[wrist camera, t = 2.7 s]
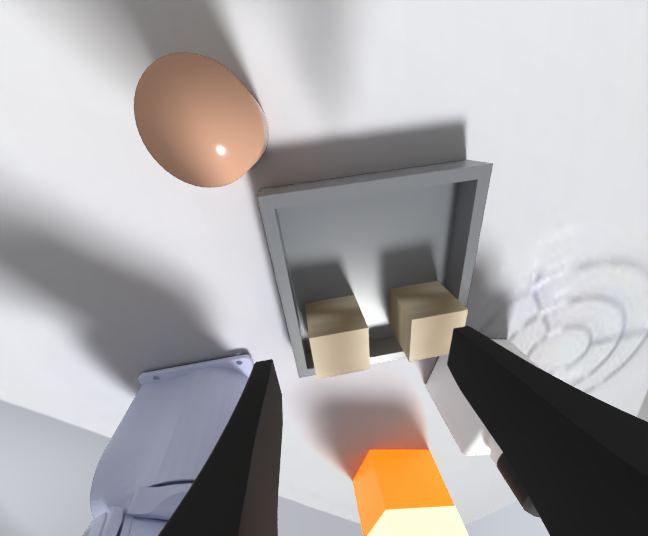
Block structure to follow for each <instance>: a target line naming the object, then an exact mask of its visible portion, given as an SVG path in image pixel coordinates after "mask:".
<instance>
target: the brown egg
mask: <svg viewBox="0 0 648 536" xmlns="http://www.w3.org/2000/svg"><path fill="white" fill-rule="evenodd" d="M134 114H135V120H136V125H137V128H138V131H139V134H140V136H141V139H142V141H143V143H144V145H145V146H146V148H147V150H148V151H149V153H150V154H151V155H152V157H153V158H154V159H155V160H156V161H157V162H158V163H159V165H161V166H162V167H163V168H164V169H165V170H166V171H167V172H169V173H170V174H172V175H173V176H175V177H176V178H178V179H180V180H182V181H184V182H186V183H189V184H192V185H195V186H200V187H210V188H211V187H220V186H225V185H228V184H231V183H233V182H235V181H236V180H238V179H239V178H241V177H242V176H243V175H244V174H245V173H246V172H247V171H248V170H249V169H250V168H251V167H252V166H253V165H254V164H255V163H256V162H257V161H258V160H259V159H260V158H261V157H262V155H263V154H264V152H265V150H266V147H267V144H268V138H269V129H268V123H267V119H266V116H265V114H264V112H263V110H262V108H261V106H260V105H259V103H258V102H257V101H256V100H255V98H254V97H253V96H252V95H251V94H250V93H249V91H248V90H247V89H246V88H245V87H244V86H243V84H242V83H241V82H240V81H239V80H238V79H237V78H236V77H235V76H234V75H233V74H232V73H231V72H230V71H229V70H228V69H226V68H225V67H224V66H223V65H221V64H219V63H218V62H216V61H214V60H212V59H210V58H207V57H205V56H202V55H198V54H193V53H174V54H169V55H167V56H164V57H161V58H160V59H158V60H156V61H155V62H153V63H152V64H151V65H150V66H149V67H148V68H147V69H146V70H145V72H144V73H143V74H142V76H141V78H140V80H139V82H138V85H137V88H136V92H135V97H134Z"/></svg>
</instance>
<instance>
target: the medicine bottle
mask: <svg viewBox="0 0 648 536" xmlns="http://www.w3.org/2000/svg"><path fill="white" fill-rule="evenodd" d="M491 340H493V341H494V342H496V343H498V344H499V345H501V346H503V347H504V348H506V349H508V350H509V351H511V352H513V353H514V354H516V355H518V356H519V357H521V358H523V359H524V360H526V361H528V362H529V363H531V364H533V365H535V364H534V363H533V362H532V361H531V360H530V359H529V358H528V357H527V356H526V355H525V354H523V353H522V352H521V351H520V350H519V349H518V348H517V347H516V346H515V345H514V344H513V343H512V342H510V341H509V340H507V339H491ZM448 356H449V354H447V355H442V356H439V358H438V360H437V363H436V365H435V367H434V369H433V371H432V373H431V375H430V377H429V380H428V382H427V384H426V389H427V391H428V392H429V394H430V396H431V398H432V400H433V401H434V403H435V405H436V407H437V409H438V410H439V412H440V414H441V416H442V418H443V419H444V421H445V423H446V425H447V427H448V428H449V430H450V432H451V434H452V436H453V437H454V439H455V441H456V443H457V445H458V446H459V448H460V450H461V452H462V453H463V454H464V455H466V456H472V455H486V454H490V456H491V458H492V460H493V462H494V463H495V465H496V466H497V468H498V469H499V471H500V473H501V474H502V476H503V477H504V479H505V480H506V482H507V484H508V485H509V487H510V488H511V490H512V491H513V493H514V495H515V496H516V498H517V499H518V501H519V502H520V504H521V505H522V507H523V509H524V510H525V511H527V512H528V513H530V514H532V515H533V516H536V517H540V516H539V514H538V512H537V510H536V508H535V507H534V505H533V503H532V501H531V499H530V498H529V496H528V494H527V492H526V490H525V489H524V487H523V485H522V484H521V482H520V480H519V478H518V477H517V475H516V473H515V471H514V470H513V468H512V466H511V464H510V463H509V461H508V460H507V458H506V456H505V455H504V453H503V452H502V450H501V449H500V447H499V446H498V444H497V443H496V441H495V440H494V439H493V437H492V436H491V434H490V433H489V431H488V430H487V428H486V427H485V425H484V424H483V423H482V421H481V420H480V418H479V417H478V415H477V414H476V412H475V411H474V410H473V408H472V407H471V405H470V404H469V402H468V401H467V399H466V398H465V396H464V395H463V393H462V392H461V390H460V389H459V387H458V385H457V383H456V381H455V379H454V378H453V376H452V374H451V372H450V370H449V368H448V366H447V361H448ZM535 366H536V367H538V366H537V365H535ZM538 368H539V367H538Z"/></svg>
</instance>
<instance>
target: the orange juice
mask: <svg viewBox="0 0 648 536" xmlns="http://www.w3.org/2000/svg"><path fill="white" fill-rule="evenodd" d="M353 485H354V490H355V496H356V501H357V506H358V511H359V516H360V521H361V526H362V532H363V536H469V535H468V533H467V531H466V529H465V527H464V524H463V522H462V520H461V518H460V516H459V513H458V511H457V509H456V507H455V506H454V504H453V501H452V499H451V497H450V495H449V493H448V490H447V488H446V486H445V484H444V482H443V479H442V477H441V475H440V473H439V471H438V468H437V466H436V464H435V462H434V460H433V457H432V455H431V453H430V451H429V450H369V452H368V454H367V456H366V458H365V459H364V461H363V463H362V465H361V467H360V468H359V470H358V472H357V474H356V476H355V477H354V479H353Z"/></svg>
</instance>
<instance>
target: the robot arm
mask: <svg viewBox="0 0 648 536" xmlns="http://www.w3.org/2000/svg"><path fill="white" fill-rule="evenodd" d="M447 366H448V368H449V370H450V372H451V374H452V376H453V378H454V379H455V381H456V383H457V385H458V387H459V389H460V390H461V392H462V393H463V395H464V396H465V398H466V399H467V401H468V402H469V404H470V405H471V407H472V408H473V410H474V411H475V412H476V414H477V415H478V417H479V418H480V420H481V421H482V423H483V424H484V425H485V427H486V428H487V430H488V431H489V433H490V434H491V436H492V437H493V439H494V440H495V441H496V443H497V444H498V446H499V447H500V449H501V450H502V452H503V453H504V455H505V456H506V458H507V460H508V461H509V463H510V464H511V466H512V468H513V470H514V471H515V473H516V475H517V477H518V478H519V480H520V482H521V484H522V485H523V487H524V489H525V490H526V492H527V494H528V496H529V498H530V499H531V501H532V503H533V505H534V507H535V508H536V510H537V512H538V514H539V516H540V518H541V519H542V521H543V523H544V525H545V527H546V528H547V530H548V532H549V534H550V536H648V422H646V421H644V420H642V419H639V418H637V417H635V416H633V415H631V414H628V413H626V412H624V411H622V410H620V409H617V408H615V407H613V406H611V405H609V404H607V403H605V402H603V401H601V400H599V399H597V398H595V397H593V396H591V395H588V394H586V393H584V392H582V391H581V390H579V389H577V388H575V387H573V386H571V385H569V384H567V383H565V382H563V381H562V380H560V379H558V378H556V377H554V376H552V375H551V374H549V373H547V372H545V371H543V370H542V369H540V368H538V367H536V366H535V365H533V364H531V363H529V362H528V361H526V360H524V359H523V358H521V357H519V356H518V355H516V354H514V353H513V352H511V351H509V350H508V349H506V348H504V347H503V346H501V345H499V344H498V343H496V342H494V341H493V340H491V339H489V338H488V337H486V336H485V335H483V334H481V333H480V332H478V331H476V330H474V329H473V328H471V327H469V326H465V327H459V328H454V329H453V334H452V340H451V345H450V350H449V356H448V361H447ZM138 381H139V383H140V384H141V387H140V389H139V391H138V393H137V394H136V396H135V398H134V400H133V401H132V403H131V405H130V407H129V409H128V410H127V412H126V414H125V416H124V417H123V419H122V421H121V423H120V424H119V426H118V428H117V430H116V431H115V433H114V435H113V437H112V438H111V440H110V442H109V444H108V445H107V447H106V449H105V451H104V452H103V454H102V456H101V459H100V461H99V463H98V466H97V468H96V471H95V474H94V478H93V482H92V487H91V492H90V507H91V512H92V515H93V518H94V520H93V521H92V522H91V523H90V525H89V526H88V528H87V529H86V531H85V532H84V534H83V535H82V536H278V533H277V532H278V530H277V507H278V487H279V472H280V457H281V442H282V426H283V417H282V394H281V390H280V386H279V382H278V379H277V375H276V371H275V367H274V364H273V360H272V359H271V360H266V361H260V362H256V363H255V364H253V361H252V359H251V357H250V356H249V355H246V354H245V355H239V356H233V357H228V358H222V359H217V360H211V361H206V362H200V363H195V364H189V365H184V366H178V367H173V368H167V369H162V370H156V371H151V372H145V373H141V374H140V375H139V377H138Z"/></svg>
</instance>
